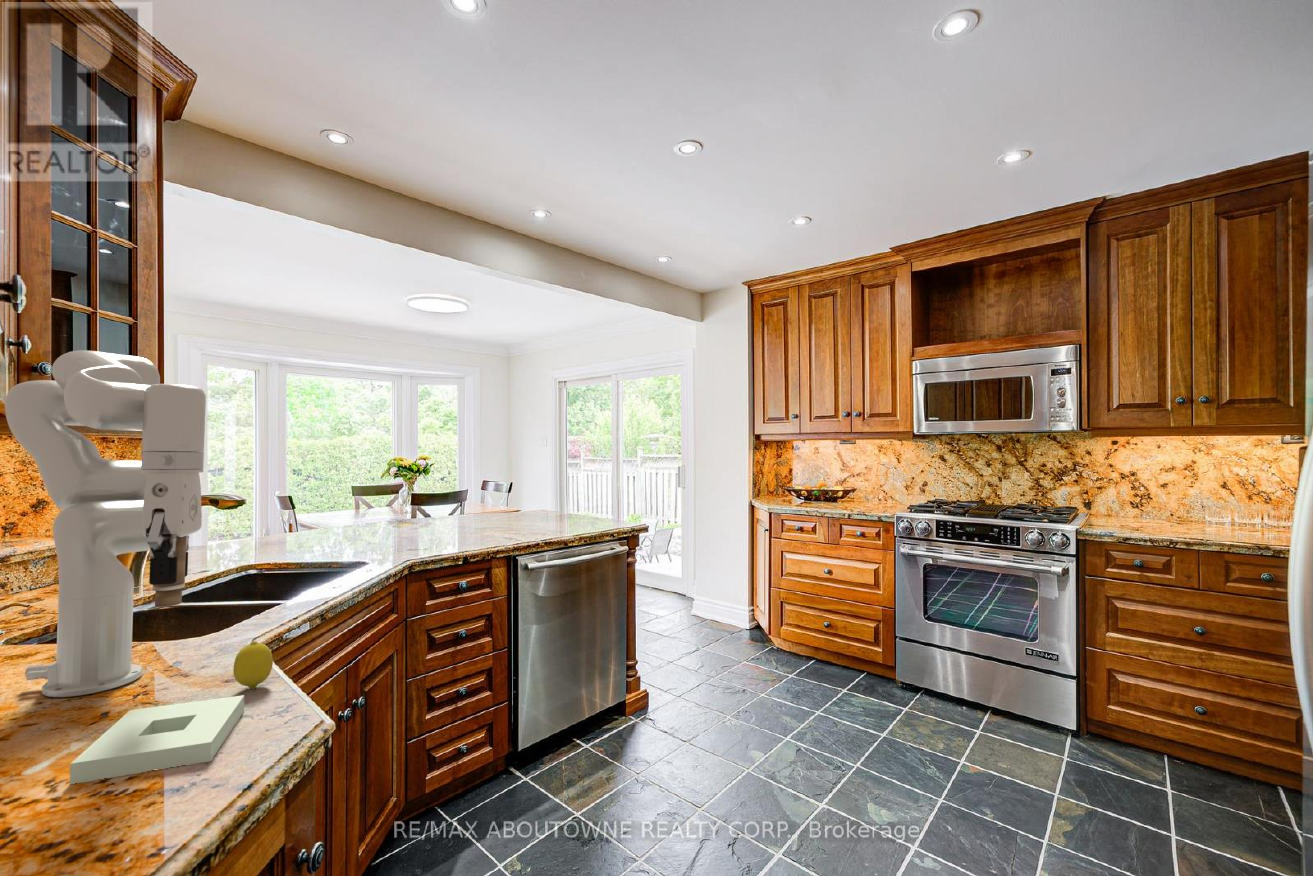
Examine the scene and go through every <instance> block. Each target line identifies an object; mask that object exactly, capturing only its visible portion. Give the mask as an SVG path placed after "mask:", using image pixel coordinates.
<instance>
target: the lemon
mask: <svg viewBox="0 0 1313 876" xmlns="http://www.w3.org/2000/svg"><path fill="white" fill-rule="evenodd" d="M273 661H274V660H273V654H272V651H271V649H270V648H269V646H267V645H266V644H264V643H260V642H258V641H255V640H254V641H251V642H250V643H249V644H247V645H245V646H243V647H242V648H241V649H240V650H239V651H238V653H237V654H236V656H235V659H234V663H233V677H234V678H235V680H236V682H237V683H239V684H240V686H245V687H248V688H249V689H250V690H253V689H256V687H257V686H258V685H260V684H261V683H263V682H264V681H266V680H267V679H268V677H269V676H270V674H271V672H272V669H273V664H274V662H273Z"/></svg>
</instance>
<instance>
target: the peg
mask: <svg viewBox="0 0 1313 876" xmlns="http://www.w3.org/2000/svg"><path fill="white" fill-rule="evenodd" d="M162 537H171V534H162ZM163 542H167V544H168V547H169V541H163ZM174 557H178V561H177V581H176V582H175V583H173V584H158V585H152V589H151V590H152V591H155V592H154V594H155V595H154V606H155V607H156V608H157V607H158V608H159V607H160V608H162V607H172V606H176V605H180V604H182V599H183V597H182V596H183V588H185V587H186V577H185V562H186V536H184V537H177V539H176V549H175V556H174Z"/></svg>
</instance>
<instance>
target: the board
mask: <svg viewBox="0 0 1313 876" xmlns="http://www.w3.org/2000/svg"><path fill="white" fill-rule="evenodd" d="M244 712H245V694H244V695H236V696H228V697H221V698H220V697H219V698H213V699H206V700H197V701H189V702H188V701H187V702H180V703H174V704H166V705H165V704H164V705H160V706H159V705H158V706H152V707H144V708H136V709H130V710H129V711H127V712H126V713H125V714H124V715H123V716H122V717H121V718H120V719H118V720H117V721H116V722H115V723H114V724H113V725H112V726H111V727H109V728H108V729H107V730H106V731H104V733H103V734H101V735H100V737H98V739H96V740H95V741H94V742H93V743H92V744H91V745H90V746H89V747H87V748H86V749H85V750H84V751H83V752H82V753H80V755H79V756H77V757H76V758H75V759H74V760H73V761H72V762H70V765H69V766H70V767H69V771H70V772H69V785H70V784H71V785H74V784H75V783H77V784H81V783H82V784H83V783H88V782H94V780H95V781H98V780H97V779H101V780H105V779H104V778H107V779H111V778H112V779H113V778H119V777H124V776H125V777H126V776H130V775H136V774H143V773H148V772H147V771H150V770H154V769H162V770H165V769H164V768H168V769H170V768H169V767H174V766H179V765H186V766H191V765H197V764H203V763H209V762H211V761H213V759H214V757H215V756H216V754H217V753H218V752H219V750H220V748H221V747H222V745H223V744H224V743H225V741H226V739H227V738H228V737H229V735H230V733H231V732H232V730H233V729H234V727H235V726H236V724H237V722H239V720H240V718H241V717H242V715H243V714H244ZM174 768H175V767H174ZM142 772H143V773H142ZM150 772H151V771H150ZM75 785H76V784H75Z"/></svg>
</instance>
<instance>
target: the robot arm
mask: <svg viewBox="0 0 1313 876" xmlns="http://www.w3.org/2000/svg"><path fill="white" fill-rule="evenodd" d="M51 374H52V377H53V379H54V380H51V379H50V380H49V379H42V380H41V379H38V380H29V381H24V382H20V383H18V384H15V385H13V386H12V387H11V388H10V389H9V390H8V392H7V394H6V396H5V398H4V411H5V417H6V422H7V424H8V427H9V429H10V431H11V434H12V435H13V436H14V438H15V439H16V442H18V443H19V445H20V446H21V447H22V448H23V449H24V451H26V452H27V454H28V455H29V456H30V457H32V459H33V460H34V462H35V464H36V467H37V469H38V472H39V474H40V477H41V479H42V482H43V483H44V484H43V485H44V486H45V488H46V491H47V493H48V495H49V497H50V499H51V501H52V503H53V504H54V505H55V506H56V507H57V508H58V509H60V510H61V511H60V512H59V513H58V514H57V515H56V516H55V518H54V521H53V523H52V535H53V540H54V541H53V542H54V548H55V551H56V556H57V557H56V559H57V565H58V595H57V596H58V597H57V598H58V599H57V600H58V601H57V602H58V603H57V626H56V627H57V629H56V631H57V632H56V655H55V656H56V658H55V660H56V661H53V662H52V663H50V664H44V663H42V664H34V665H28V666H27V667H26V669H25V670H24V671H25V672H24V677H25V678H26V680H27V681H34V680H39V679H45V680H47V681H46V682H45V683H44V684H43V685H42V687H41V694H42V695H44V696H45V697H51V698H52V697H53V698H68V697H69V698H70V697H77V696H85V695H90V694H95V693H100V692H105V691H108V690H112V689H115V688H116V689H117V688H119V687H121V686H125V685H128V684H130V683H132V682H134V681H136V680H137V679H139V678H141V676H142V675H143V670H144V669H143V666H141V665H140V664H139V665H138V664H135V663H132V653H133V651H132V650H133V623H134V622H133V621H134V620H133V619H134V617H133V616H134V590H135V579H134V576H133V574H132V572H131V571H130V569H129V568H128V567H127V566H125V565H124V564H123V562H121V561H120V560H119V559H118V557H117V556H119V555H122V554H123V555H124V554H129V553H130V554H131V553H137V552H147V551H149V579H148V580H149V581H148V583H149V585H151V586H153V585H158V584H173V583H175V582H176V581H177V561H178V557H174V556H175V549H176V539H177V537H184V536H186V562H185V578H186V577H187V576H188V574H189V572H188V571H189V570H188V568H189V566H188V565H189V547H190V545H189V542H190V541H189V539H190V535H191V534H194V533H197V532H198V531H200V530H201V528H202V520H203V519H202V518H203V517H202V515H203V513H202V488H201V487H202V485H201V484H202V483H201V477H200V476H201V475H200V473H204V466H205V465H204V464H205V463H204V462H205V461H204V460H205V459H204V458H205V452H204V451H205V435H206V434H205V431H206V404H207V400H206V397H207V396H206V393H205V391H204V390H203V389H202V388H200V387H197V386H193V385H187V384H179V383H178V384H175V383H161V376H160V373H159V370H158V368H157V366H156V365H155V364H154V363H153V362H152V361H151V360H149V359H147V358H144V357H141V356H136V355H127V354H122V353H121V354H118V353H112V352H105V351H98V350H97V351H96V350H84V349H79V350H72V351H68V352H67V353H64V354H62V355H60V356H59V357H57V358H56V359H55V361H54V362H53V364H52V367H51ZM69 426H73V427H87V428H92V429H96V430H102V431H103V430H104V431H135V432H136V431H138V432H142V437H141V460H136V459H135V460H132V459H131V460H129V459H128V460H127V459H125V460H123V459H119V460H118V459H116V460H115V459H106V458H103V457H102V455H101V454H100V451H99V449H98V448H97V445H96V444H95V443H94V442H93V441H91V440H90V439H89V438H88V437H86V436H85V435H83V434H82V433H80V432H79V431H76V430H75V429H72V428H70V427H69ZM162 534H171V537H162ZM163 541H169V547H168V544H167V542H163Z"/></svg>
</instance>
